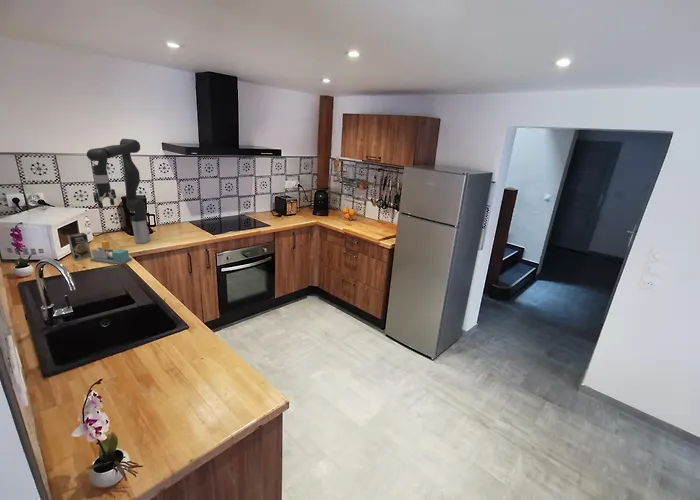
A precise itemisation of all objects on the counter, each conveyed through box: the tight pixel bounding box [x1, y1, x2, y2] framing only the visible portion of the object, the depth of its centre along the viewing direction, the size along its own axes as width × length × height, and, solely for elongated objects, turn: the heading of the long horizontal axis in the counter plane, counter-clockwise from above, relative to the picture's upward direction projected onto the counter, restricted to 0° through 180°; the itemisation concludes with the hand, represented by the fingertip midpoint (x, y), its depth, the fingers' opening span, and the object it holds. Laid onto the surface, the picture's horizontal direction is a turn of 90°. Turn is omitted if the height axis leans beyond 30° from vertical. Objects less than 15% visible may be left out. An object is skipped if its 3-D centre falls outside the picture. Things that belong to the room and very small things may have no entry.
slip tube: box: [101, 240, 113, 258], centre depth 224 cm, size 12×4×11 cm, turn 78°
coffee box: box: [66, 232, 92, 261], centre depth 226 cm, size 9×6×16 cm
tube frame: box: [90, 246, 133, 266], centre depth 225 cm, size 22×10×8 cm, turn 78°
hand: (107, 206), depth 224 cm, fingers open, 8 cm apart
